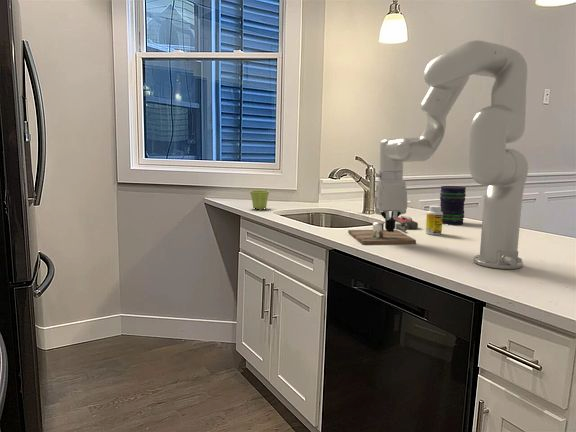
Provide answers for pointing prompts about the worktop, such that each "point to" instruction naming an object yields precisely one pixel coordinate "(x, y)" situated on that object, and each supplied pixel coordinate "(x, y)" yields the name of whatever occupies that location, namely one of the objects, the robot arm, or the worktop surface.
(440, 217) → the supplement bottle
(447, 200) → the storage jar
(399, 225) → the walkie-talkie
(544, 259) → the worktop surface
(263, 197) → the plant pot
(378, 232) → the lever
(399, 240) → the dial board
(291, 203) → the worktop surface
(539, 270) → the worktop surface
